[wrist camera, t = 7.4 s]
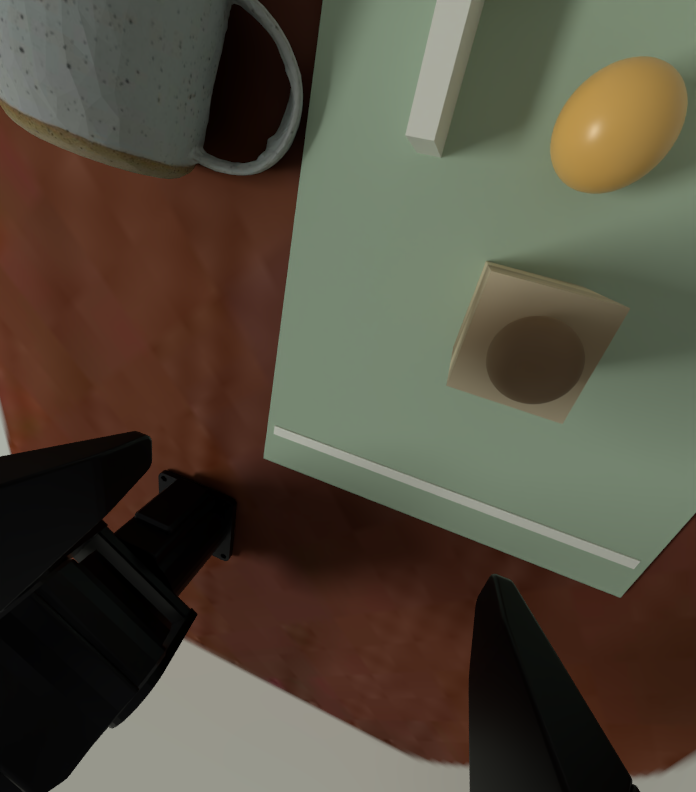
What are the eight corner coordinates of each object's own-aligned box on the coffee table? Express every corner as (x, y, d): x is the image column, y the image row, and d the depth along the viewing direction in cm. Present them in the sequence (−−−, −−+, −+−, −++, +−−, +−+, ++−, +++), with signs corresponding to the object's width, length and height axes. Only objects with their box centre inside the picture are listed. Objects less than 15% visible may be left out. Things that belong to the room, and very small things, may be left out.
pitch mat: (617, 591, 20) (621, 599, 20) (266, 454, 24) (262, 458, 24) (1218, -101, 9) (1258, -119, 8) (346, -145, 13) (341, -159, 12)
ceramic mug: (108, 138, 19) (-85, 88, 12) (118, -85, 15) (-156, -333, 9) (283, 222, 18) (177, 217, 12) (342, 10, 14) (233, -185, 8)
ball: (749, 34, 9) (667, 92, 12) (600, 22, 10) (559, 81, 13) (678, 191, 10) (621, 207, 14) (551, 173, 11) (524, 193, 14)
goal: (748, 220, 13) (820, 216, 10) (417, 153, 15) (405, 135, 12) (919, -43, 10) (1081, -145, 7) (475, -79, 12) (475, -167, 9)
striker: (538, 373, 17) (580, 461, 10) (453, 346, 17) (441, 412, 11) (582, 286, 15) (668, 325, 8) (485, 260, 16) (494, 278, 9)
